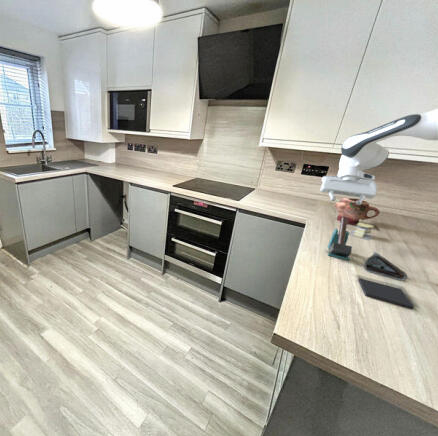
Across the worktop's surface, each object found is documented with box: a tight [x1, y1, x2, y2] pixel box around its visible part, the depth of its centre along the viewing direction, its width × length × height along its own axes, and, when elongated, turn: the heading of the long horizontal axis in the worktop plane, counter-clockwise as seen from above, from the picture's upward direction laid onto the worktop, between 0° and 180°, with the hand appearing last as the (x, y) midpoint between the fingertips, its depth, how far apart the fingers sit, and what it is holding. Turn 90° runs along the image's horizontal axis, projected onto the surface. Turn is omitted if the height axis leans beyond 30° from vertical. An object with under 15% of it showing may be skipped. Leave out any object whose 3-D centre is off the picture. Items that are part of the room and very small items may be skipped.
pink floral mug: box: [334, 197, 380, 226], centre depth 137 cm, size 20×12×14 cm, turn 47°
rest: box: [327, 228, 350, 261], centre depth 100 cm, size 7×10×9 cm
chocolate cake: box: [363, 252, 408, 282], centre depth 90 cm, size 10×7×12 cm
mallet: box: [328, 218, 353, 258], centre depth 100 cm, size 6×14×14 cm, turn 150°
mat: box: [357, 277, 415, 310], centre depth 76 cm, size 11×10×1 cm
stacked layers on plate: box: [348, 222, 376, 241], centre depth 121 cm, size 10×9×6 cm
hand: (345, 202), depth 107 cm, fingers open, 8 cm apart
